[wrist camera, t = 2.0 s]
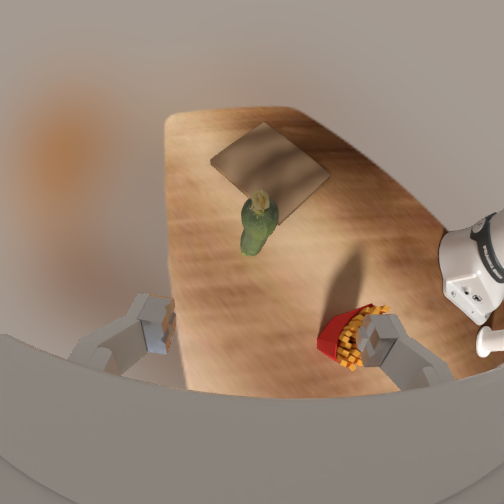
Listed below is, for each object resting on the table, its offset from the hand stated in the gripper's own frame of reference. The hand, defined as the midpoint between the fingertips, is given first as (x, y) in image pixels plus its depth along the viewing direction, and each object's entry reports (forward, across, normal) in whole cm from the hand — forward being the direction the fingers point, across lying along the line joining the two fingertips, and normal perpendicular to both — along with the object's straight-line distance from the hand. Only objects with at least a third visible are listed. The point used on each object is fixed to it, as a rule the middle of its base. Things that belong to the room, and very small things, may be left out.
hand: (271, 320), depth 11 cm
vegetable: (+31, 0, +13) cm, 33 cm away
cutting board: (+41, -2, +2) cm, 41 cm away
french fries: (+21, -14, +22) cm, 34 cm away
